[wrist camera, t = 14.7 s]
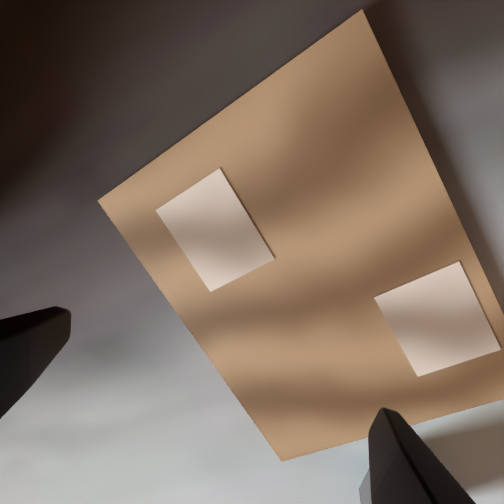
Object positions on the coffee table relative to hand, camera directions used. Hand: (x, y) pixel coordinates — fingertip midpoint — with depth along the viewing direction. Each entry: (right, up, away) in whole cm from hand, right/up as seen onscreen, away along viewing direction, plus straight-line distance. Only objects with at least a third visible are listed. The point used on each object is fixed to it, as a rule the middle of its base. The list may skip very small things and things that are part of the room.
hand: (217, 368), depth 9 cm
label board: (+4, +1, +10) cm, 11 cm away
